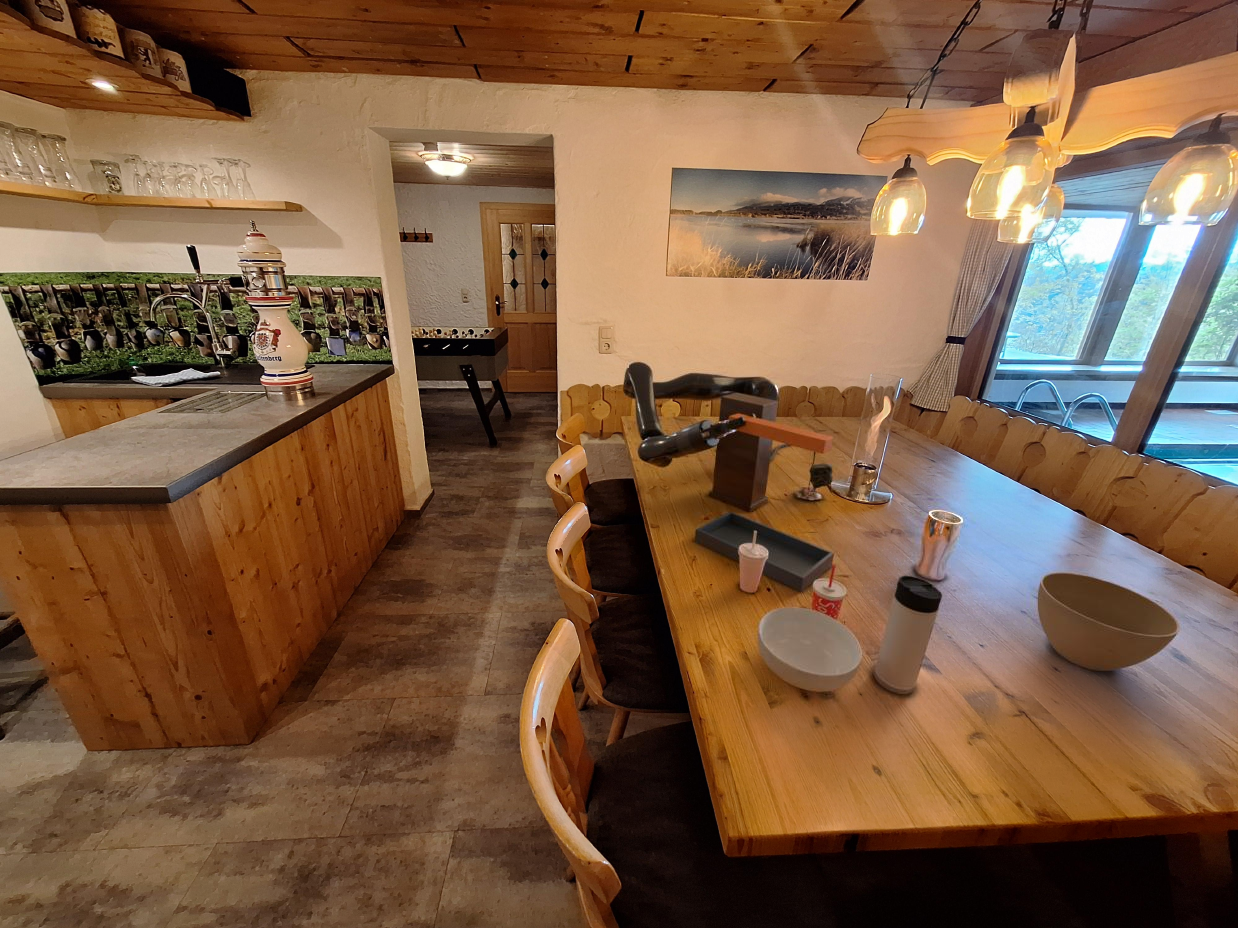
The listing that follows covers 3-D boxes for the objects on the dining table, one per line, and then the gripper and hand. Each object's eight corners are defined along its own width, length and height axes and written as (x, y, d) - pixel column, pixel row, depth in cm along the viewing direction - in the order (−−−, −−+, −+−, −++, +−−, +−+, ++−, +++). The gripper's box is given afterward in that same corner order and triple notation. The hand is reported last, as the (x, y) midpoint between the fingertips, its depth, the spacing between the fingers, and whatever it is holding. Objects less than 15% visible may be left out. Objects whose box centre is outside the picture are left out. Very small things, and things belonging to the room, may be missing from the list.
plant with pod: (829, 505, 149) (841, 443, 142) (791, 498, 154) (801, 437, 147) (832, 495, 156) (843, 436, 149) (795, 488, 161) (804, 430, 153)
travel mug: (864, 668, 87) (888, 573, 80) (899, 666, 88) (926, 571, 81) (885, 696, 81) (913, 596, 74) (922, 693, 82) (953, 594, 75)
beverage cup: (799, 623, 98) (810, 563, 93) (815, 611, 102) (827, 553, 97) (828, 639, 94) (841, 578, 89) (844, 626, 98) (857, 566, 93)
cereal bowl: (736, 669, 87) (740, 637, 84) (779, 624, 98) (784, 594, 95) (832, 726, 76) (841, 691, 73) (868, 668, 87) (876, 636, 85)
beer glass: (942, 568, 118) (959, 512, 112) (950, 584, 112) (968, 526, 106) (910, 562, 120) (924, 507, 115) (915, 578, 114) (931, 520, 108)
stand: (726, 487, 161) (736, 391, 149) (767, 502, 151) (781, 400, 139) (708, 495, 155) (717, 396, 143) (749, 511, 144) (763, 406, 133)
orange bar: (736, 425, 121) (738, 413, 120) (831, 450, 105) (834, 436, 104) (727, 427, 119) (728, 416, 118) (823, 454, 103) (825, 440, 102)
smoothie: (760, 580, 112) (768, 526, 107) (765, 597, 106) (774, 541, 101) (732, 578, 113) (738, 524, 108) (735, 595, 107) (742, 539, 102)
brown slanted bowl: (1117, 706, 80) (1147, 648, 76) (1000, 636, 96) (1019, 584, 91) (1170, 674, 87) (1201, 619, 83) (1053, 613, 102) (1074, 564, 98)
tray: (729, 522, 138) (730, 511, 137) (831, 565, 118) (834, 552, 117) (694, 541, 128) (695, 529, 127) (800, 591, 108) (803, 578, 107)
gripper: (674, 429, 125) (727, 409, 111) (708, 419, 134) (760, 399, 121) (684, 457, 124) (737, 440, 111) (717, 445, 134) (770, 428, 120)
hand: (749, 419), depth 116 cm, fingers closed on orange bar, 4 cm apart
